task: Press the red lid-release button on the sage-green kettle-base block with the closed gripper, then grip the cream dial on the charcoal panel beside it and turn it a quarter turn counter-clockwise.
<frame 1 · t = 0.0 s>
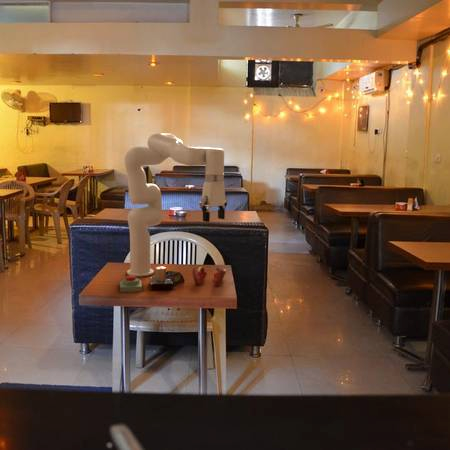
hand: (213, 220, 213), 31 cm above the table, tool pointing down, fingers open, 9 cm apart
dial panel: (160, 286, 225), on the table
button base: (130, 288, 222), on the table
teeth: (209, 283, 232), on the table
dial: (160, 273, 224), point 6 cm above the table, hinge at 0.0°
lid button: (130, 278, 221), point 4 cm above the table, slide at 0.1 cm
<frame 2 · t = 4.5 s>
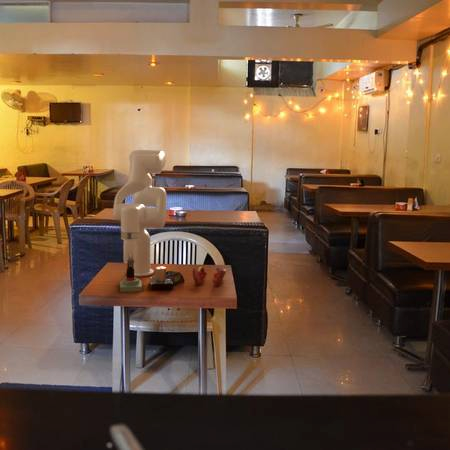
hand: (130, 277, 220), 5 cm above the table, tool pointing down, fingers closed
lid button: (130, 279, 221), point 4 cm above the table, slide at -0.3 cm, touching gripper
everything else where it was.
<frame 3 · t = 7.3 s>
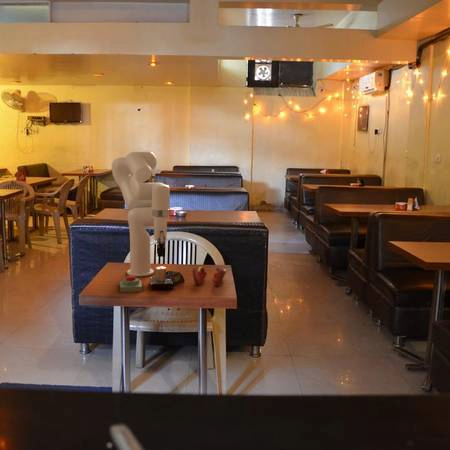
hand: (160, 254, 223), 14 cm above the table, tool pointing down, fingers open, 4 cm apart
lid button: (130, 278, 221), point 4 cm above the table, slide at 0.1 cm
everything else where it was.
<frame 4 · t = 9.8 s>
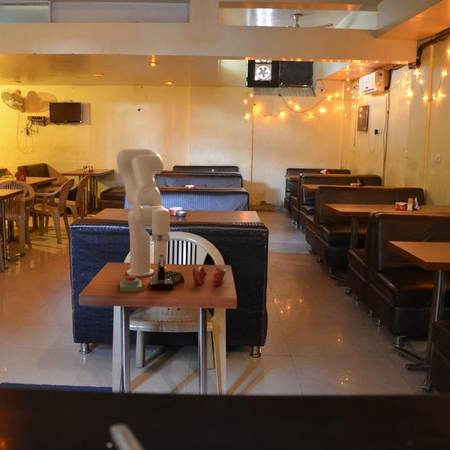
hand: (160, 277, 224), 4 cm above the table, tool pointing down, fingers closed on dial, 4 cm apart
dial: (160, 273, 224), point 6 cm above the table, hinge at -0.1°, touching gripper
everything else where it was.
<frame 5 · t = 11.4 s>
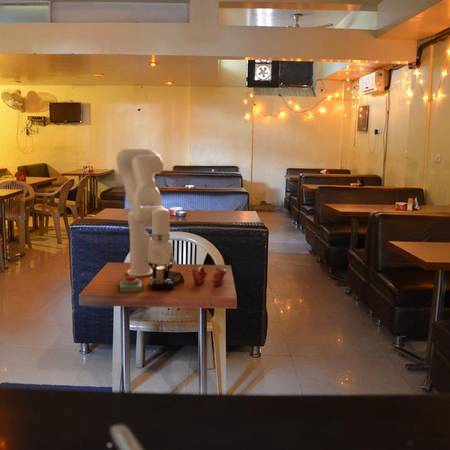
hand: (160, 277, 224), 4 cm above the table, tool pointing down, fingers closed on dial, 4 cm apart
dial: (160, 273, 224), point 6 cm above the table, hinge at 60.7°, touching gripper
everything else where it was.
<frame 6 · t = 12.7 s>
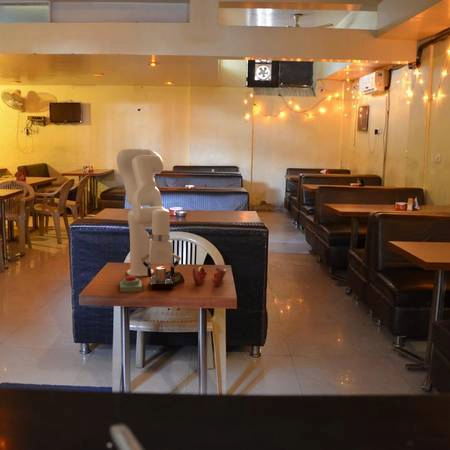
hand: (160, 276, 224), 5 cm above the table, tool pointing down, fingers open, 9 cm apart
dial: (160, 273, 224), point 6 cm above the table, hinge at 92.0°
everything else where it was.
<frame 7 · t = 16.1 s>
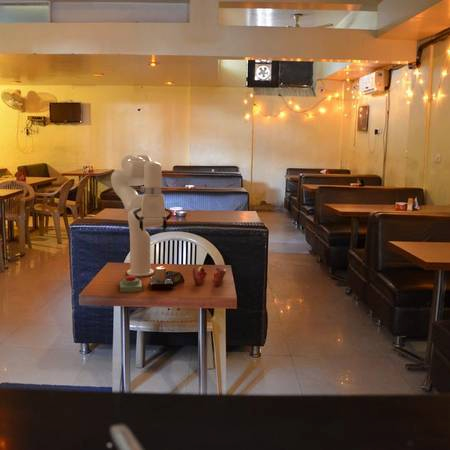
hand: (153, 230, 225), 24 cm above the table, tool pointing down, fingers open, 9 cm apart
nothing on the table moved.
at the end: lid button pushed in 1.1 cm at the most during the clip and back out by the end; dial at +92° (first picture: +0°) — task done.
